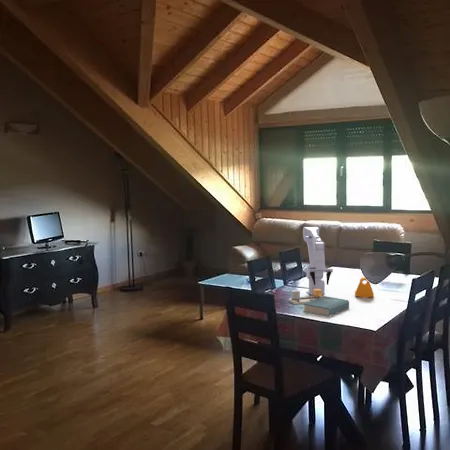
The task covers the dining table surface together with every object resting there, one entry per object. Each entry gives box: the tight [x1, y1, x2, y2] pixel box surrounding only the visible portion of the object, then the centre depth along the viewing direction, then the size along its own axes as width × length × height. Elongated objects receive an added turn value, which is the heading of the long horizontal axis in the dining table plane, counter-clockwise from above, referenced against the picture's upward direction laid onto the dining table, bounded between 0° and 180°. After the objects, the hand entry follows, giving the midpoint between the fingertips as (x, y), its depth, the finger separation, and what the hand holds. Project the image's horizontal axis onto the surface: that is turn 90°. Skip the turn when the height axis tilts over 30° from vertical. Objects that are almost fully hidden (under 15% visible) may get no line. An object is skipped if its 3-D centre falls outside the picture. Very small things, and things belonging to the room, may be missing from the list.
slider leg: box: [312, 289, 323, 298], centre depth 330 cm, size 4×7×5 cm, turn 14°
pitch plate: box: [288, 289, 324, 305], centre depth 328 cm, size 22×9×6 cm, turn 104°
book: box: [303, 295, 350, 317], centre depth 309 cm, size 23×16×5 cm
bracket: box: [354, 276, 375, 298], centre depth 341 cm, size 11×7×12 cm, turn 79°
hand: (321, 284), depth 330 cm, fingers open, 7 cm apart
